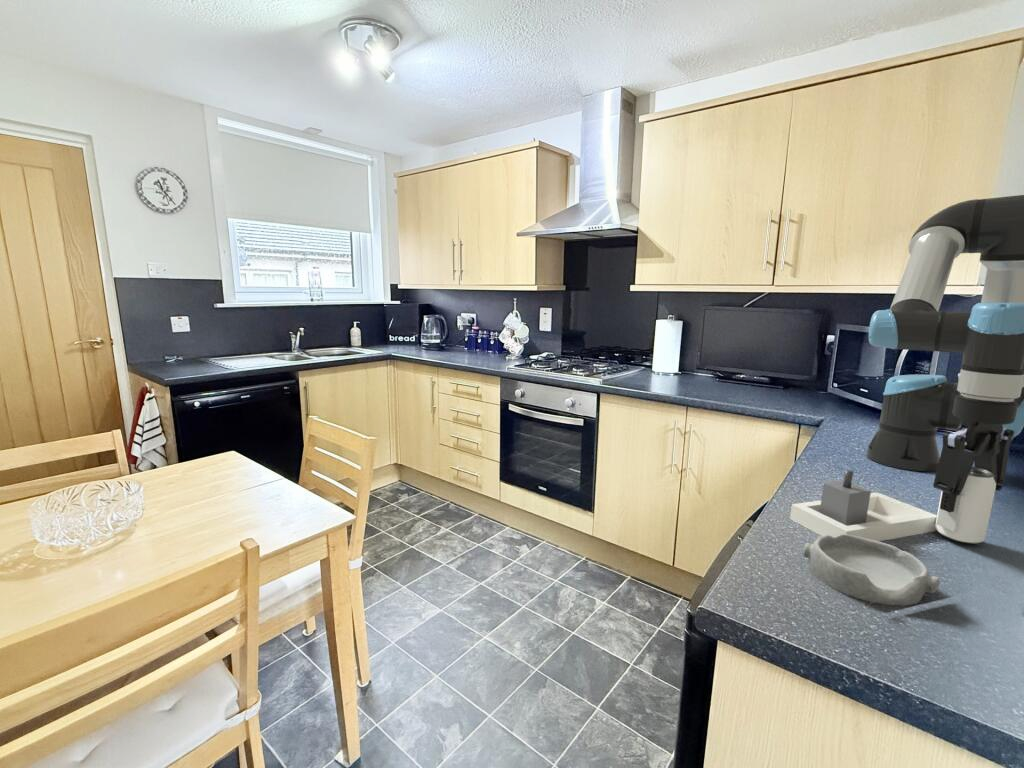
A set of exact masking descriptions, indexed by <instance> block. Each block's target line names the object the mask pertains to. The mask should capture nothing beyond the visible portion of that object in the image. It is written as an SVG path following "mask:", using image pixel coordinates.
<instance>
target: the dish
mask: <svg viewBox="0 0 1024 768" xmlns="http://www.w3.org/2000/svg"><path fill="white" fill-rule="evenodd" d="M802 554H803V557H804V558H806V559H808V567H809V568H808V569H809V571H811V573H812V574H813V576H814V577H816V578H817V579H818V580H819V581H821V582H822V583H823V584H824V585H826V586H828V587H830V588H832V589H834V590H836V591H837V592H840V593H842V594H844V595H847V596H848V597H849V596H850V597H852V598H856V599H857V600H858V599H859V600H862V601H865V602H869V603H875V604H880V605H889V606H910V605H911V606H912V605H915V604H918V603H920V601H921V600H923V599H922V598H923V597H924V595H925V594H926V593H927V592H928V593H931V594H935V593H936V591H937V590H938V589H939V585H940V582H941V581H940V579H939V577H938V576H933V575H931V574H930V573H929V571H928V568H927V567H926V565H925V564H924V563H923V561H921V560H920V559H919V558H917V557H916V556H915V555H913V554H912V553H910V552H908V551H904V550H901V549H900V548H898V547H897V546H894V545H892V544H888V543H886V542H885V543H884V542H883V541H875V540H870V539H866V538H862V537H858V536H853V535H848V534H840V535H836V536H830V535H825V536H821V535H820V537H818V538H817V539H815V541H814V542H813V543H809V542H807V543H805V545H804V547H803V550H802Z"/></svg>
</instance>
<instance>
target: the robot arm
mask: <svg viewBox="0 0 1024 768" xmlns="http://www.w3.org/2000/svg"><path fill="white" fill-rule="evenodd" d="M908 253H909V259H908V261H907V263H906V266H905V269H904V272H903V273H902V277H901V278H900V279H901V280H900V282H899V285H898V286H897V289H896V292H895V294H894V297H893V300H892V302H891V304H890V308H887V309H881V310H880V309H879V310H876V311H875V312H874V313H873V314H872V316H871V318H870V322H869V328H868V342H869V344H870V345H871V346H872V347H875V348H886V349H891V350H908V351H920V352H921V351H922V352H923V351H924V352H939V353H952V354H953V353H954V354H962V360H961V361H962V363H961V365H960V372H959V373H958V374H957V377H958V379H957V382H949V381H948V379H947V377H946V376H945V375H942V374H939V375H938V374H904V375H903V374H902V375H893V376H891V377H889V378H888V380H887V381H886V383H885V387H884V392H882V395H883V400H882V406H881V412H880V417H879V422H878V423H879V424H878V429H877V431H876V433H875V434H874V436H873V438H872V439H871V441H870V443H869V445H867V449H866V453H865V455H866V457H867V459H869V460H871V461H873V462H876V463H879V464H881V465H885V466H888V467H891V468H897V469H901V470H909V471H916V472H917V471H918V472H935V471H936V472H935V477H934V481H933V485H932V486H933V488H935V489H937V490H941V492H942V498H941V503H940V508H939V507H938V508H939V514H938V519H937V525H939V526H942V527H944V528H947V529H949V530H952V531H954V532H955V531H957V530H958V525H959V520H960V515H961V510H962V505H963V500H964V495H962V494H961V492H962V489H963V487H964V484H965V482H966V480H967V477H968V475H969V473H970V470H971V468H972V467H976V468H980V469H984V470H987V471H989V472H992V473H993V474H994V475H995V476H994V480H995V483H996V489H995V491H998V492H1001V490H1002V489H1003V484H1004V483H1005V480H1006V473H1007V467H1008V466H1007V465H1008V460H1009V454H1010V446H1011V442H1012V440H1013V438H1015V437H1017V436H1019V435H1020V434H1021V432H1022V430H1023V428H1024V194H1020V195H1010V196H1009V195H1007V196H998V197H990V198H980V199H978V198H977V199H968V200H965V201H962V202H958V203H955V204H951V205H950V206H948V207H946V208H944V209H942V210H939V211H938V212H937V213H935V214H933V215H932V216H931V217H929V218H928V219H926V221H924V222H923V223H922V224H920V226H919V227H918V228H917V229H916V231H915V232H914V233H913V234H912V237H911V239H910V241H909V244H908ZM960 254H980V256H979V263H981V264H982V265H983V266H984V267H985V268H986V273H985V280H984V285H983V290H982V295H981V300H980V301H981V302H977V303H976V304H974V305H973V306H972V309H971V310H970V311H939V310H940V307H941V304H942V300H943V298H944V294H945V290H946V288H947V286H948V285H947V284H948V281H949V278H950V275H951V271H952V267H953V264H954V261H955V259H957V258H958V257H959V256H960ZM938 429H943V430H950V431H955V432H954V433H951V432H944V433H943V434H942V448H941V452H940V451H939V446H938V442H937V439H936V436H937V431H938Z"/></svg>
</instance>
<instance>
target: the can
mask: <svg viewBox="0 0 1024 768" xmlns="http://www.w3.org/2000/svg"><path fill="white" fill-rule="evenodd" d="M994 476H995V475H994V474H993V473H992V472H989V471H987V470H984V469H980V468H976V467H975V466H972V468H971V470H970V473H969V475H968V477H967V480H966V482H965V484H964V487H963V489H962V492H961V494H962V495H964V500H963V505H962V510H961V515H960V520H959V525H958V530H957V531H955V532H954V531H952V530H949V529H947V528H944V527H942V526H939V525H937V519H938V514H939V508H940V503H941V498H942V491H941V492H940V498H939V504H938V508H937V514H936V515H937V519H936V525H935V528H936V531H937V532H938V534H940V535H942V536H943V537H946V538H948V539H950V540H953V541H957V542H960V543H965V544H972V545H973V544H975V545H976V544H981V543H983V542H984V541H985V540H986V537H987V531H988V526H989V522H990V517H991V513H992V508H993V504H994V498H995V492H996V490H995V489H996V483H995V480H994Z"/></svg>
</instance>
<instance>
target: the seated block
mask: <svg viewBox="0 0 1024 768" xmlns="http://www.w3.org/2000/svg"><path fill="white" fill-rule="evenodd" d="M843 476H844V477H843V480H838V481H831V482H824V483H823V486H822V493H821V506H820V513H821V514H823V515H825V516H828V517H830V518H832V519H834V520H836V521H838V522H840V523H842V524H844V525H846V526H850V525H856V524H862V523H866V519H867V512H868V506H869V500H870V493H872V492H871V490H870V489H867V488H864V487H862V486H860V485H858V484H857V485H856V484H854V483H853V477H854V471H853V470H850V469H845V470H844V475H843Z"/></svg>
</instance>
